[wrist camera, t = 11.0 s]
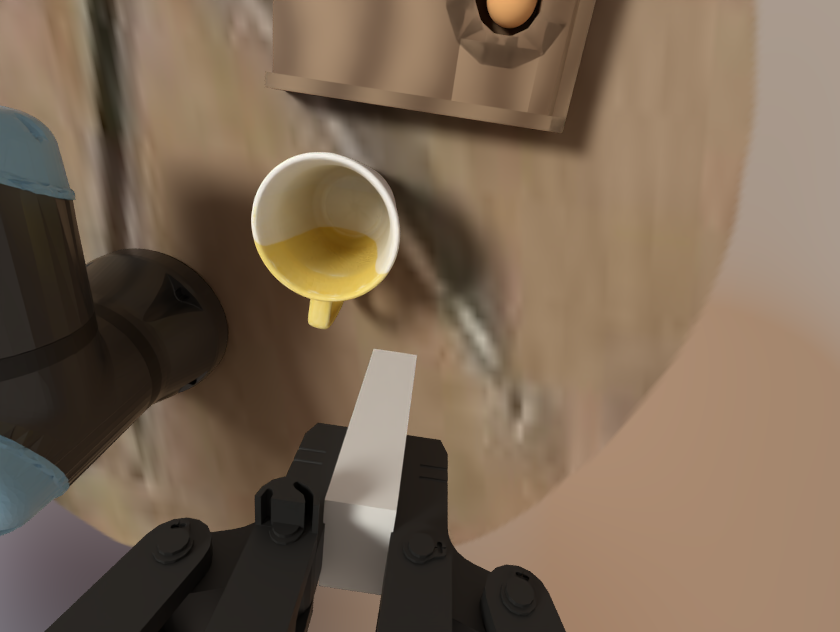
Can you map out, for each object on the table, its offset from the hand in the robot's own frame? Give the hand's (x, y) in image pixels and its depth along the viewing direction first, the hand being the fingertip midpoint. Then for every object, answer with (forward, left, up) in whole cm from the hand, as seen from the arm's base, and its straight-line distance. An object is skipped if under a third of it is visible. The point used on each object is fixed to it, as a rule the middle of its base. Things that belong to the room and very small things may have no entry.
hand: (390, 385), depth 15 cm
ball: (+4, +17, -25) cm, 30 cm away
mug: (-7, -1, -27) cm, 28 cm away
